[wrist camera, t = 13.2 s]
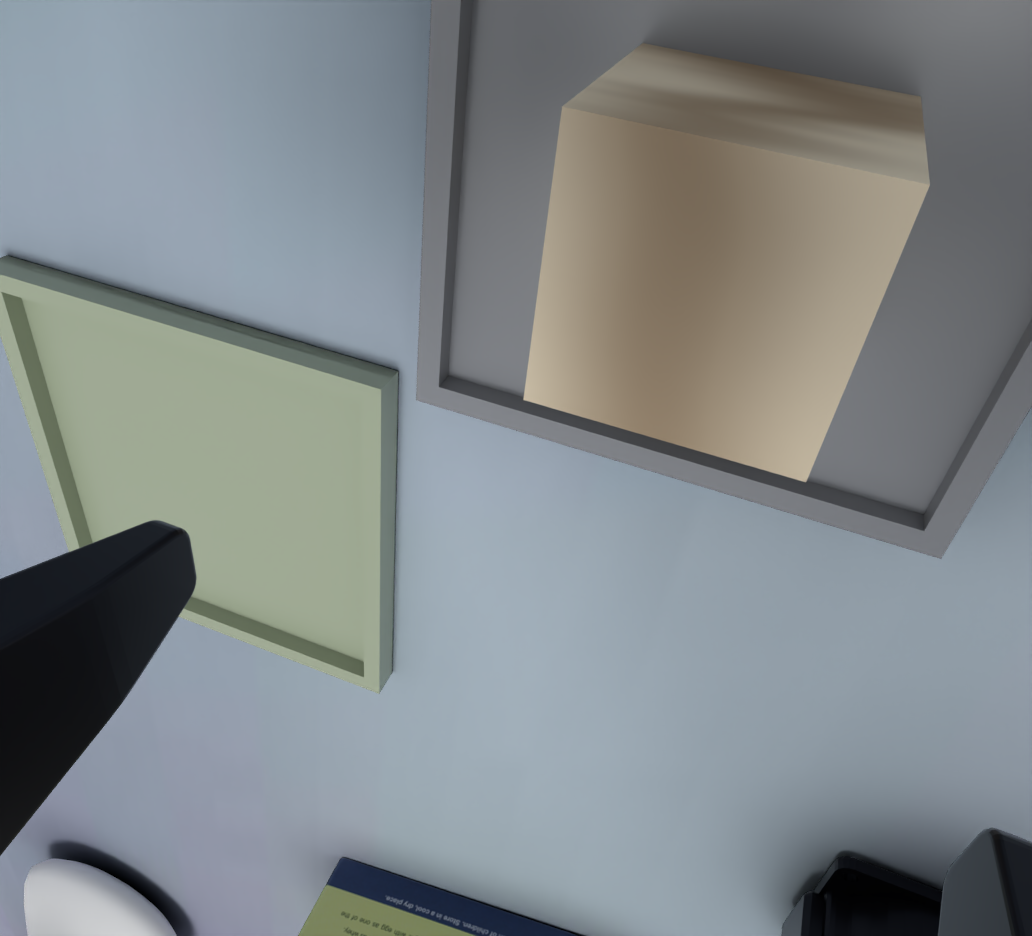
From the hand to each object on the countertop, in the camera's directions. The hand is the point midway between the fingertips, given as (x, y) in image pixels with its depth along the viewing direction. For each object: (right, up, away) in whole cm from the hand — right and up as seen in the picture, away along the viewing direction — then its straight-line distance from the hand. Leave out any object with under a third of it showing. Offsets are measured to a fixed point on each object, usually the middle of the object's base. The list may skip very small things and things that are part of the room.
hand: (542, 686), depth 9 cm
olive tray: (-10, +2, +19) cm, 22 cm away
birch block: (+4, +8, +7) cm, 11 cm away
